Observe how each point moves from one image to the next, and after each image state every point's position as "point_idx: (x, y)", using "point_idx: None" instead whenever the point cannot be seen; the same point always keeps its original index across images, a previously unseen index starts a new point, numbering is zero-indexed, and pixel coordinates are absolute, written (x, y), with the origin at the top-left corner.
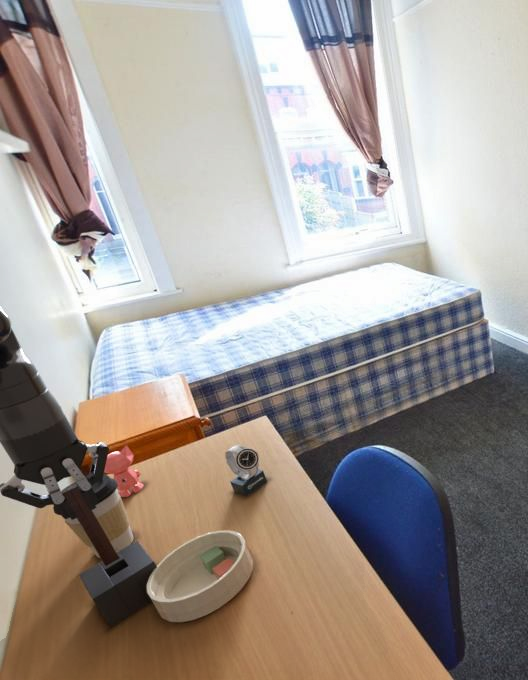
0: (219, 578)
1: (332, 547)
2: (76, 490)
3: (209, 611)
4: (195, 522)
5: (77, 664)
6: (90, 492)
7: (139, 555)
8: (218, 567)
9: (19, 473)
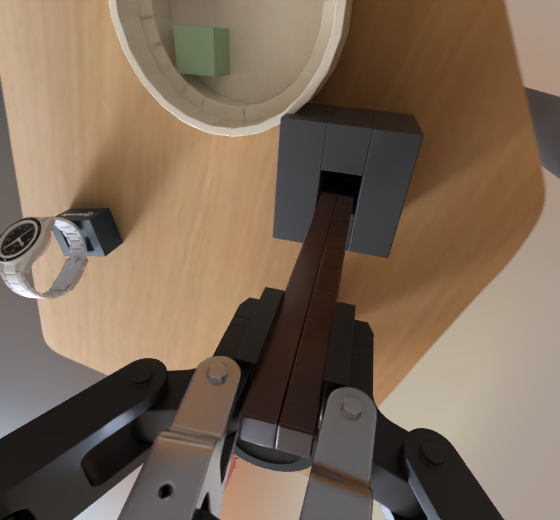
0: None
1: None
2: (260, 398)
3: None
4: (196, 237)
5: (502, 77)
6: (231, 347)
7: (290, 179)
8: None
9: None
